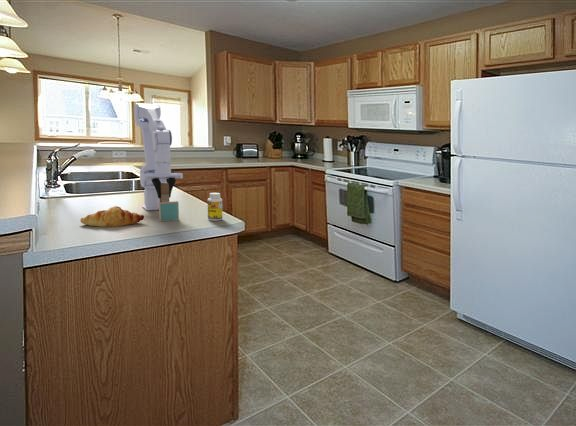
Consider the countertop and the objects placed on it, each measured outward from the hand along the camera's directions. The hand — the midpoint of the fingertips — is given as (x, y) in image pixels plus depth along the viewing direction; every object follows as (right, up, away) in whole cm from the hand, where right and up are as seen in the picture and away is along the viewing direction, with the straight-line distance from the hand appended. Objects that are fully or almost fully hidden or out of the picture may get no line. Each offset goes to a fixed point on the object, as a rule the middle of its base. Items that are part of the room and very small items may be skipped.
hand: (164, 197), depth 159 cm
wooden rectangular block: (0, -3, 0) cm, 3 cm away
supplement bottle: (+20, -9, -1) cm, 22 cm away
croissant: (-15, -10, -12) cm, 22 cm away
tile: (+3, -9, -4) cm, 10 cm away
